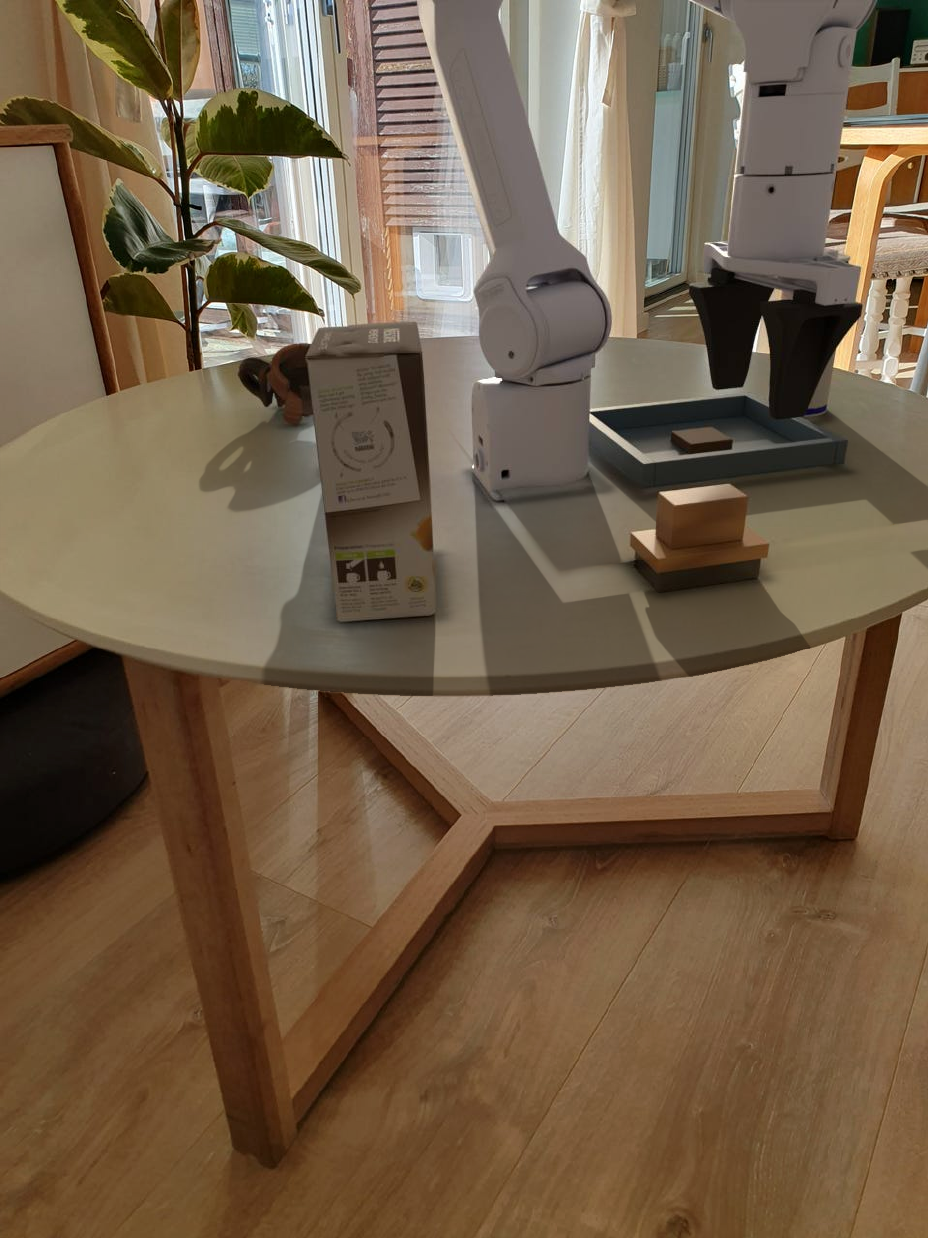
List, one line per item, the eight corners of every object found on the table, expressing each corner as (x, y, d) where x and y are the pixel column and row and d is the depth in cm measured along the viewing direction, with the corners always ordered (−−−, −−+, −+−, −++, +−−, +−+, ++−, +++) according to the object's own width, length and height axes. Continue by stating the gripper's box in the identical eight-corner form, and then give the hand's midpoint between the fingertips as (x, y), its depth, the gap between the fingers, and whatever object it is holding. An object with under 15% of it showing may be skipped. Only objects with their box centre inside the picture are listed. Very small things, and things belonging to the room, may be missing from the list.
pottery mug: (353, 402, 100) (358, 345, 93) (335, 462, 95) (339, 406, 88) (248, 377, 99) (246, 318, 92) (224, 437, 94) (220, 378, 87)
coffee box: (440, 617, 54) (424, 350, 46) (335, 624, 54) (302, 357, 46) (432, 554, 62) (418, 318, 54) (341, 560, 62) (314, 324, 54)
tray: (641, 497, 70) (643, 463, 69) (574, 439, 84) (574, 410, 82) (843, 472, 73) (849, 439, 72) (746, 419, 87) (750, 391, 86)
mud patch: (689, 455, 76) (690, 444, 75) (670, 441, 79) (670, 430, 79) (732, 450, 77) (733, 439, 76) (710, 437, 80) (711, 426, 80)
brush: (655, 594, 55) (661, 514, 53) (628, 566, 59) (632, 489, 57) (764, 578, 57) (776, 499, 54) (731, 551, 61) (740, 475, 58)
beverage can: (829, 425, 84) (857, 258, 77) (768, 423, 86) (790, 258, 78) (820, 408, 89) (846, 250, 82) (763, 407, 90) (783, 251, 83)
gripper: (927, 173, 47) (878, 424, 53) (778, 167, 59) (753, 371, 66) (808, 180, 45) (773, 437, 52) (681, 172, 58) (666, 380, 64)
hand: (755, 401), depth 59 cm, fingers open, 7 cm apart
